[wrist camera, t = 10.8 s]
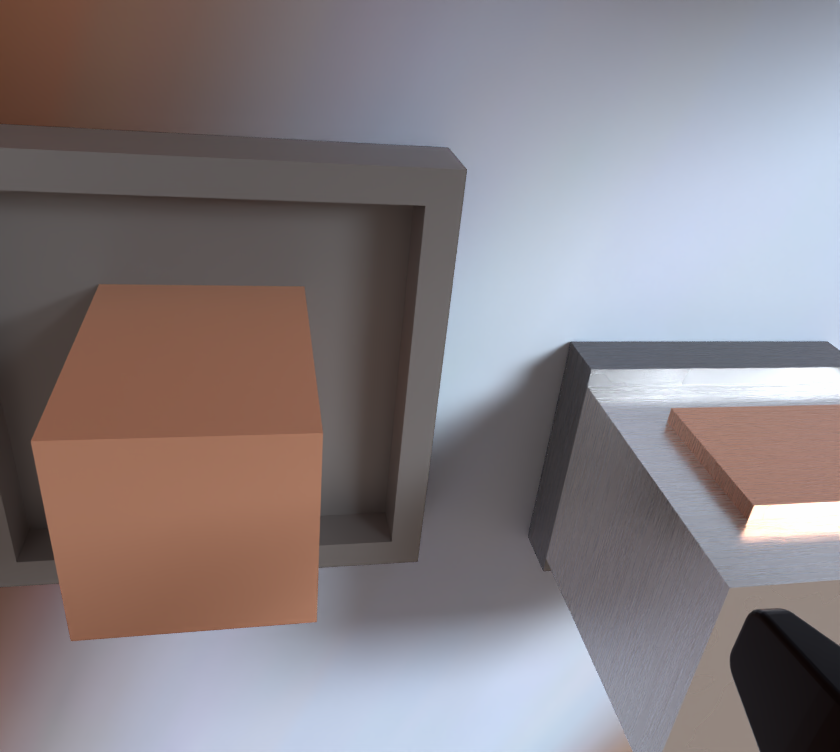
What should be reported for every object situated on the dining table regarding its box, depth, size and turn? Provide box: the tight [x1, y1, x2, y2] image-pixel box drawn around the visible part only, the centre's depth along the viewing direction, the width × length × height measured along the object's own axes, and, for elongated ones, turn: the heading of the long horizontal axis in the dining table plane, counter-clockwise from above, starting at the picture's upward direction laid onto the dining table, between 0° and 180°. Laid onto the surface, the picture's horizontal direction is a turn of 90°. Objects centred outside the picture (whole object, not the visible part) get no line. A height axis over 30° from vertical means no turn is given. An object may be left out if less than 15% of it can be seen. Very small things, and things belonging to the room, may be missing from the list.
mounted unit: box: [528, 342, 840, 752], centre depth 20 cm, size 8×7×8 cm
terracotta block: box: [31, 284, 323, 641], centre depth 16 cm, size 4×4×6 cm
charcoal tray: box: [0, 124, 467, 587], centre depth 18 cm, size 11×11×2 cm
